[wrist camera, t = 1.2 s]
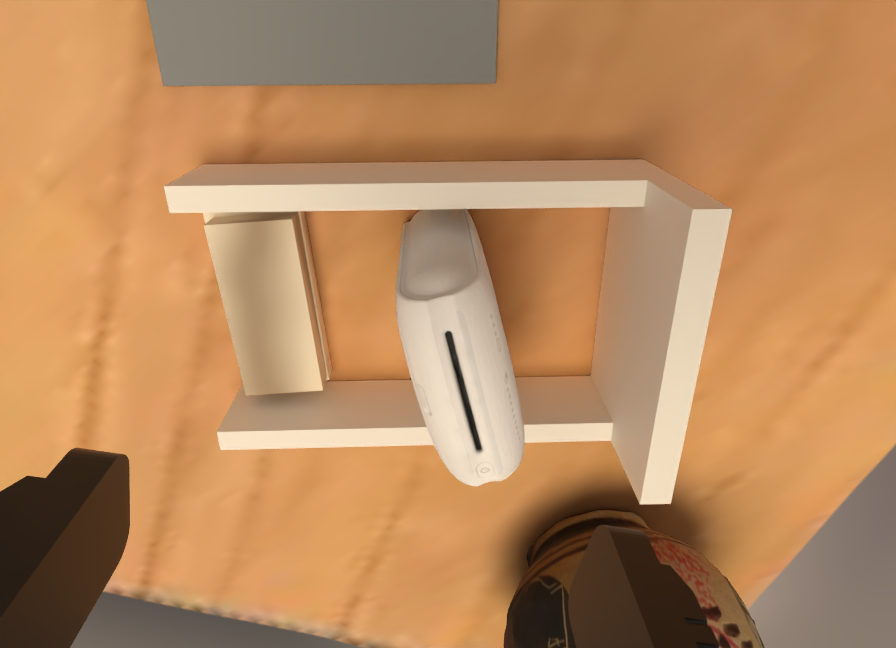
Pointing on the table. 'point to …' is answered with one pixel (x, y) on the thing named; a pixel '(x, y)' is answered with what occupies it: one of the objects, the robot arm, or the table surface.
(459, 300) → the photo printer
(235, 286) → the offcut stack
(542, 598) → the ceramic jug
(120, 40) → the table surface
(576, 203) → the rack
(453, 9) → the mat
